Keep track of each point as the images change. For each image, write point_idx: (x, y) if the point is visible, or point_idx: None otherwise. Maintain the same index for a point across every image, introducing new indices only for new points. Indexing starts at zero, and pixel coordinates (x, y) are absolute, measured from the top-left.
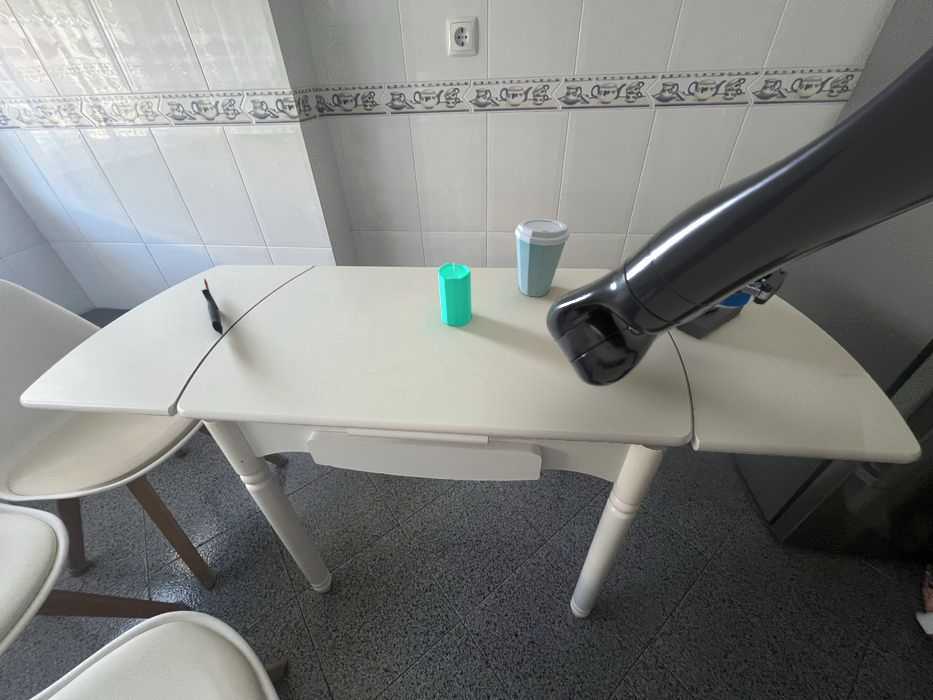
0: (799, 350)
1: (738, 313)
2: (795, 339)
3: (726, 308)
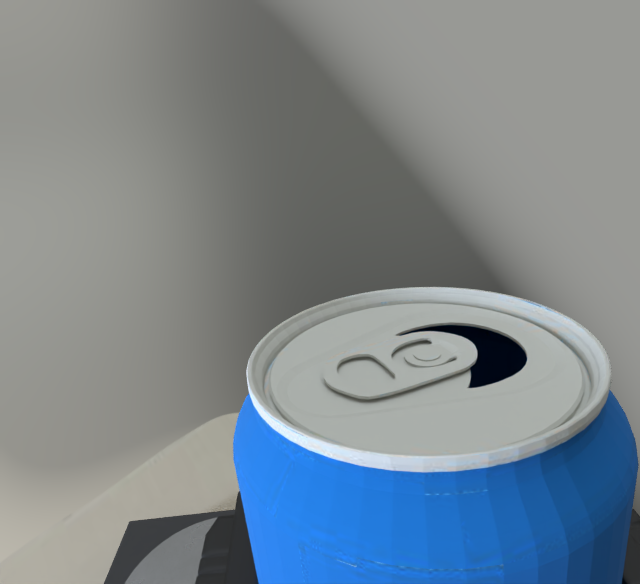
0: None
1: None
2: None
3: None
